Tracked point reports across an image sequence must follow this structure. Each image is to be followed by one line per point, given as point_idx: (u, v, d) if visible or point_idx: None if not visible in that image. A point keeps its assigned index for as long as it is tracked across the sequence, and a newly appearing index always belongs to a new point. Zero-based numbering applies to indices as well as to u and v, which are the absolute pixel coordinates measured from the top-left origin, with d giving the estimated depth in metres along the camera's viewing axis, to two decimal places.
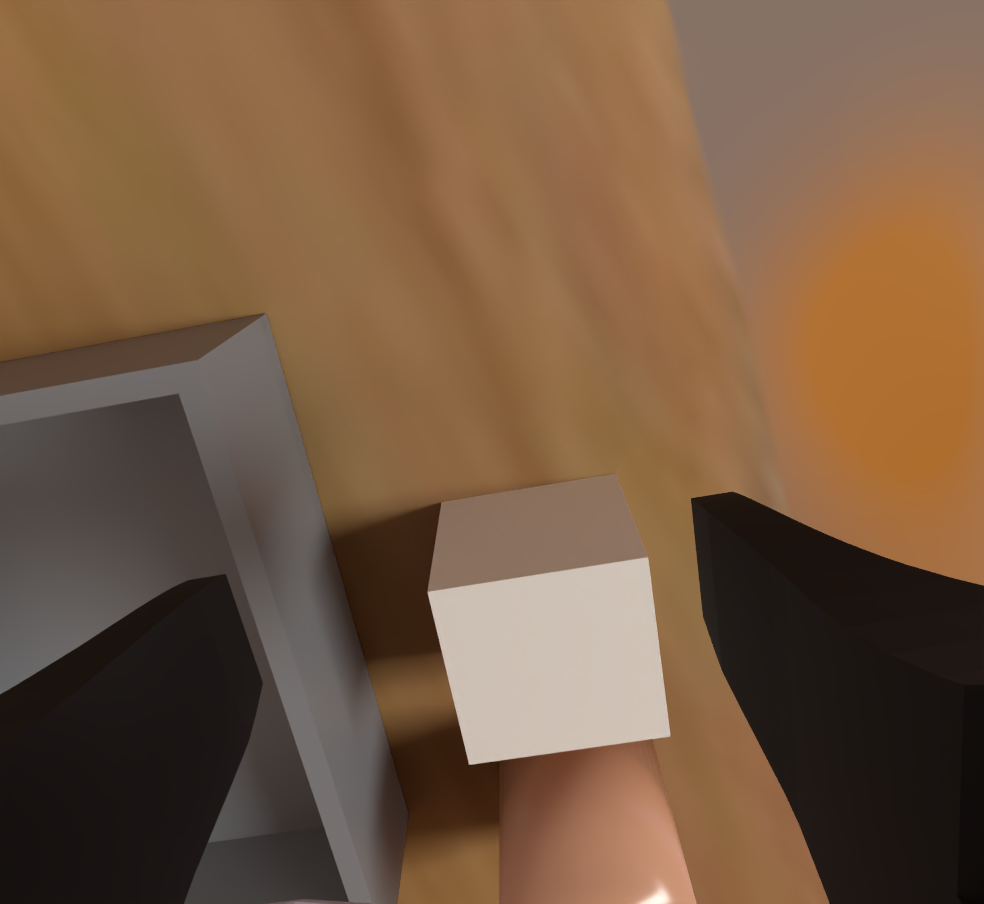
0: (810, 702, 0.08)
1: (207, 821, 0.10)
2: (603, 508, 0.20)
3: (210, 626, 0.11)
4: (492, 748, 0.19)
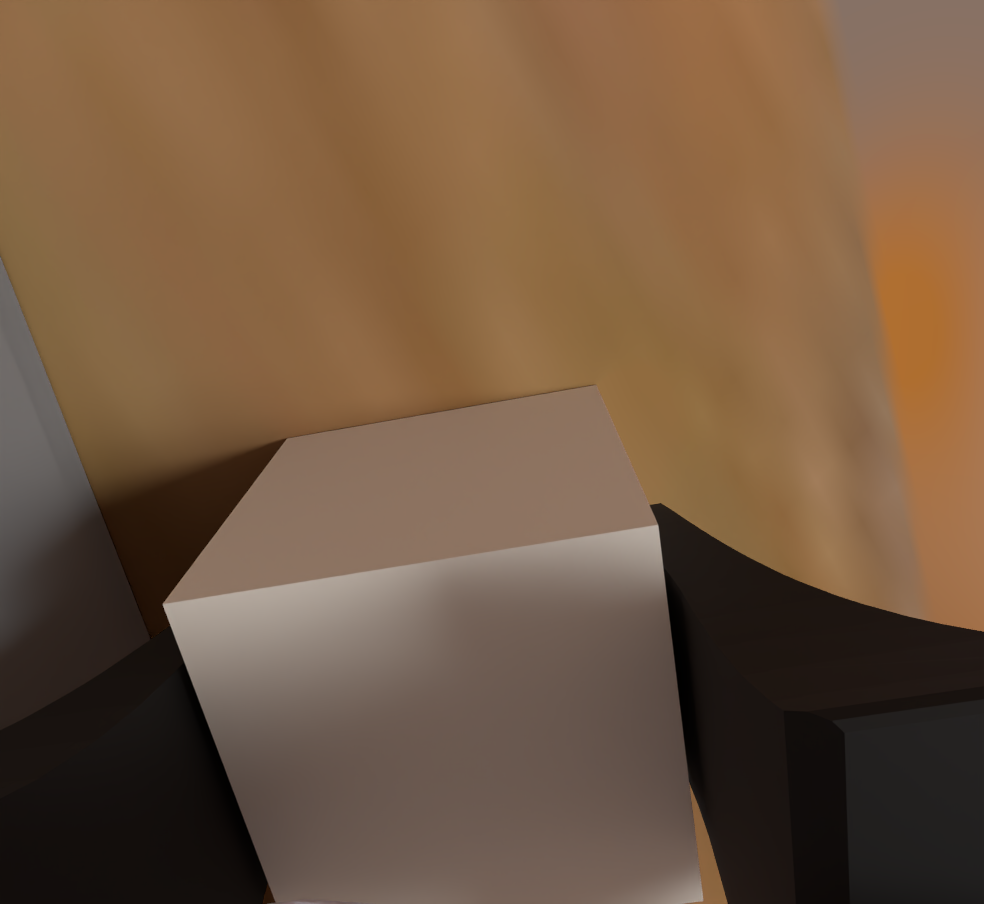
0: (705, 716, 0.08)
1: None
2: (569, 438, 0.10)
3: None
4: None
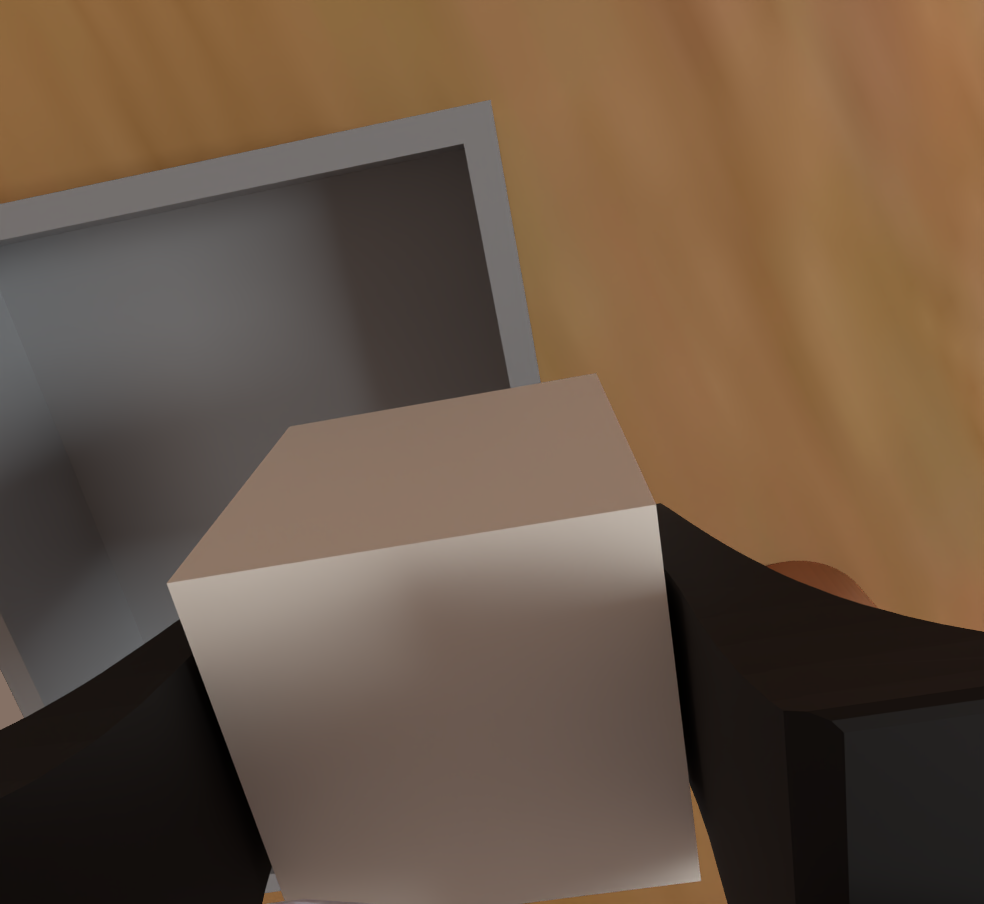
0: (705, 717, 0.08)
1: None
2: (568, 424, 0.10)
3: None
4: None
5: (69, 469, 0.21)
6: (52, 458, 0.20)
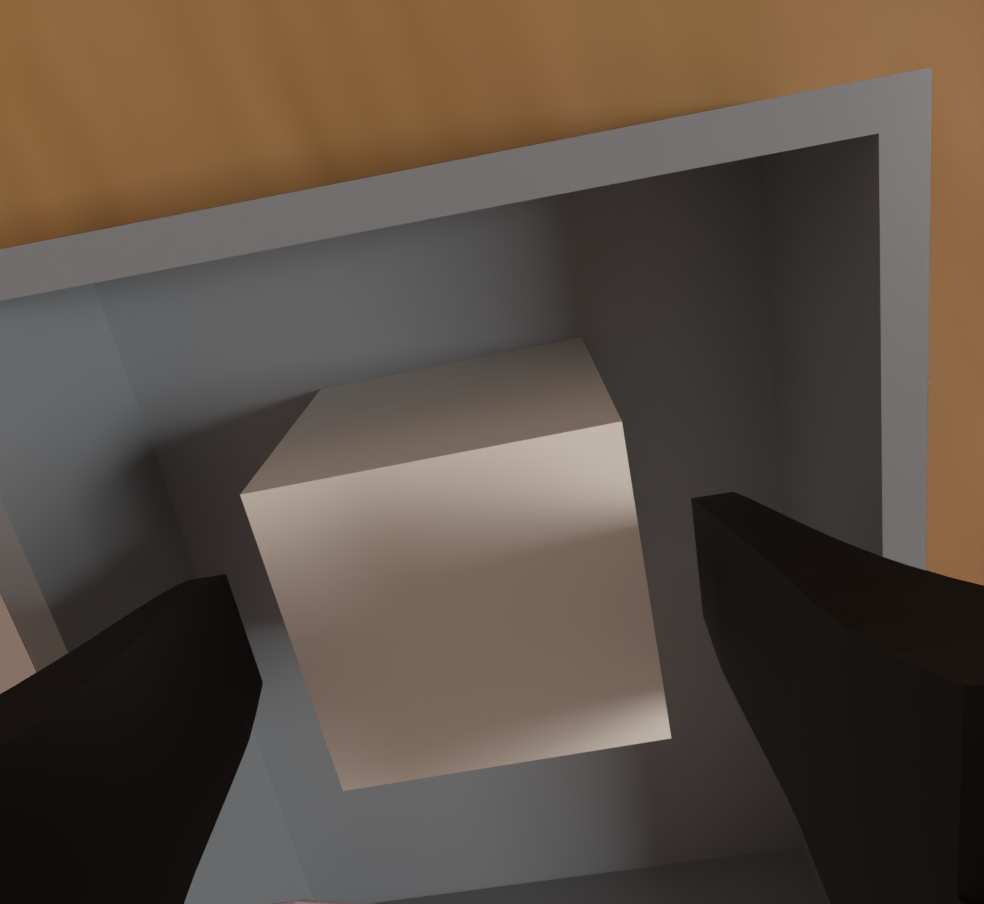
0: (810, 702, 0.08)
1: (207, 821, 0.10)
2: (556, 373, 0.12)
3: (210, 626, 0.11)
4: (378, 764, 0.12)
5: (186, 554, 0.16)
6: (169, 543, 0.15)
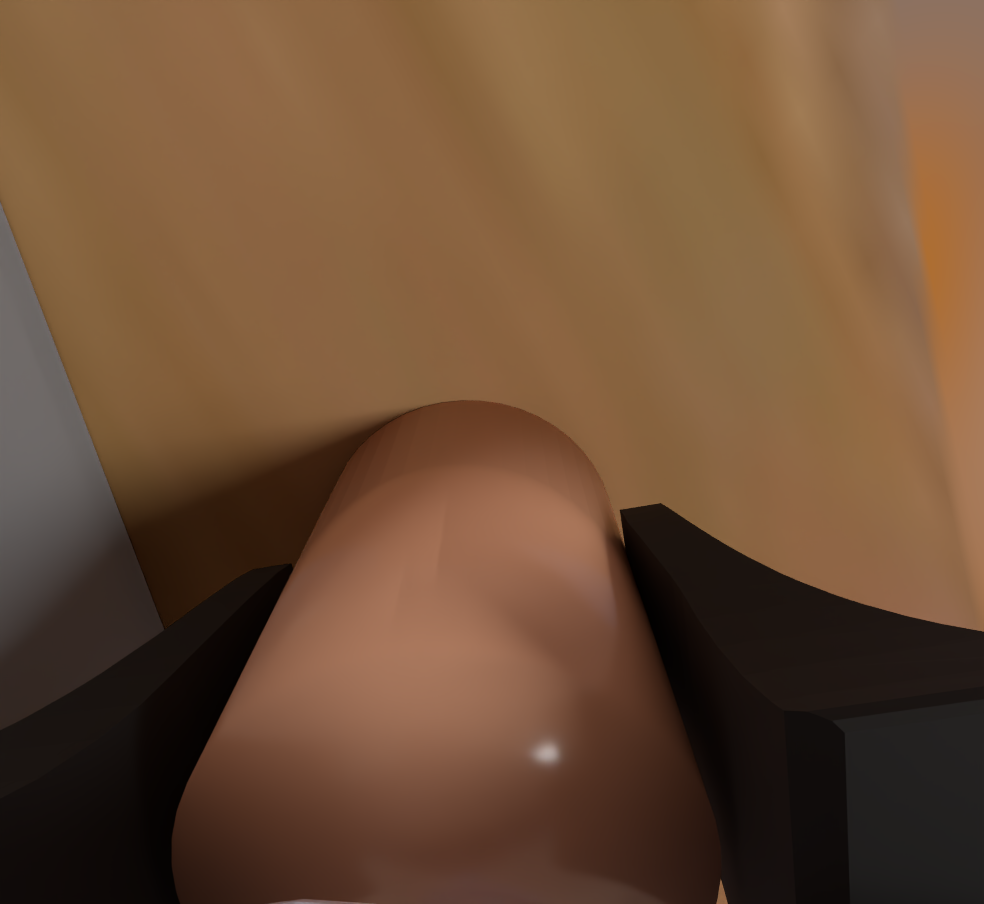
0: (705, 717, 0.08)
1: None
2: None
3: None
4: None
5: None
6: None
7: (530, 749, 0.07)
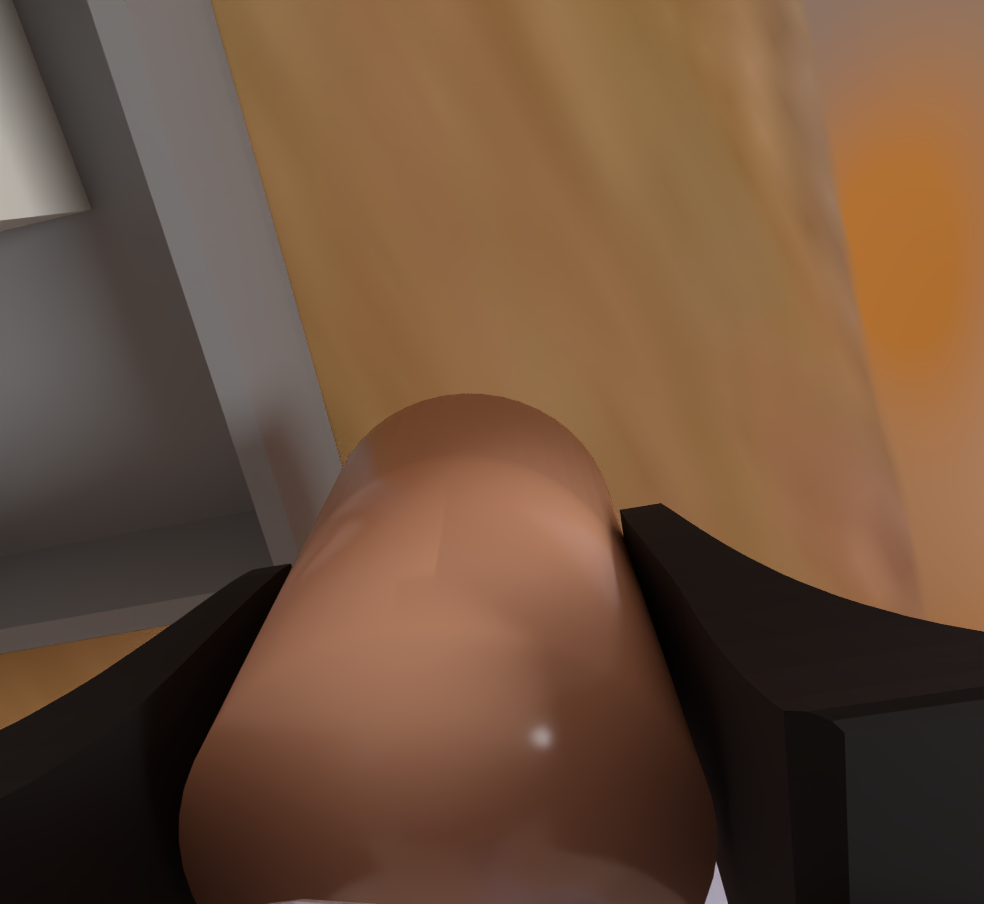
0: (705, 717, 0.08)
1: None
2: None
3: None
4: None
5: None
6: None
7: (530, 726, 0.07)
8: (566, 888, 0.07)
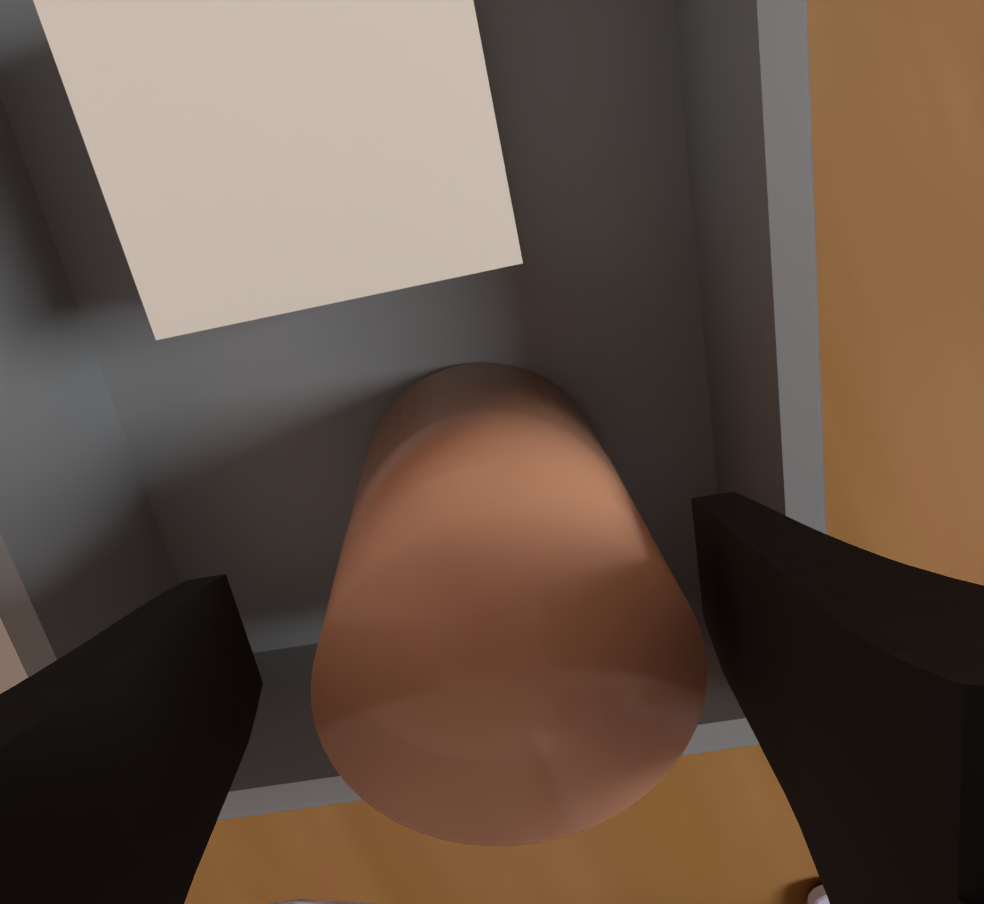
0: (810, 702, 0.08)
1: (207, 821, 0.10)
2: None
3: (210, 626, 0.11)
4: (192, 301, 0.10)
5: (36, 206, 0.14)
6: (10, 178, 0.14)
7: (562, 585, 0.09)
8: (601, 709, 0.10)
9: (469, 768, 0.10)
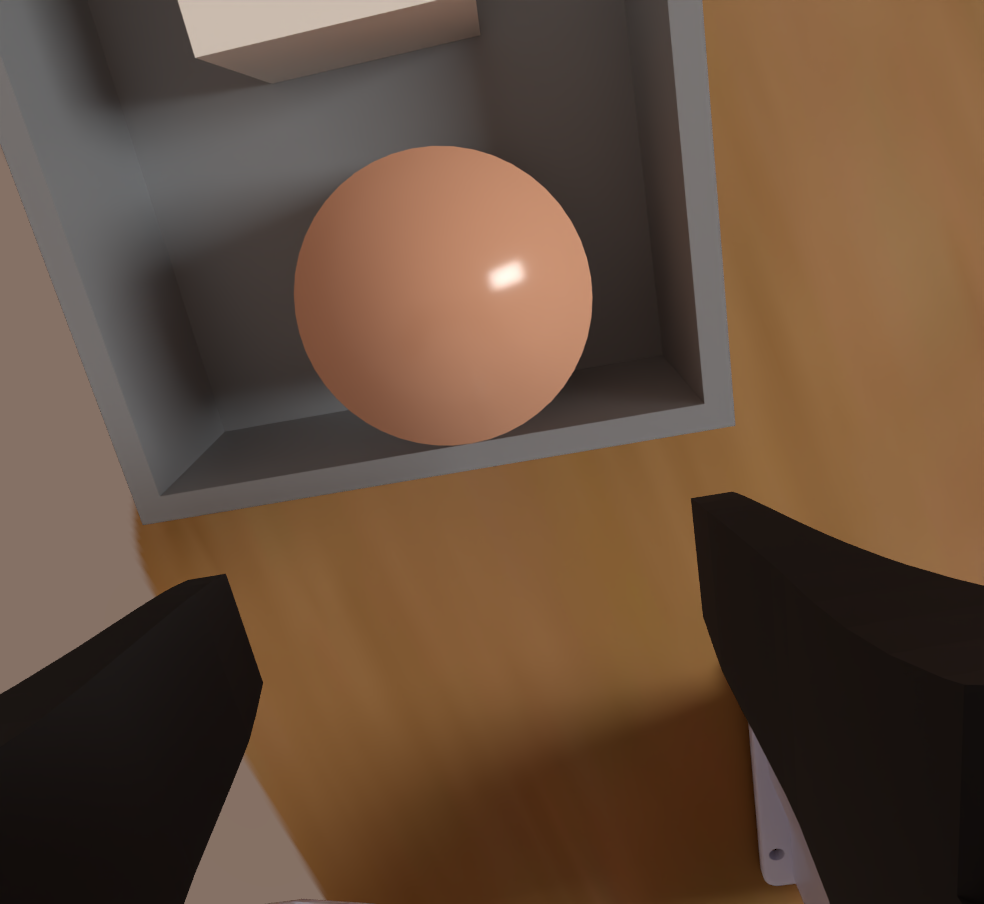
0: (810, 702, 0.08)
1: (207, 821, 0.10)
2: None
3: (210, 626, 0.11)
4: (223, 24, 0.13)
5: (88, 12, 0.18)
6: None
7: (474, 205, 0.13)
8: (512, 317, 0.13)
9: (415, 371, 0.14)
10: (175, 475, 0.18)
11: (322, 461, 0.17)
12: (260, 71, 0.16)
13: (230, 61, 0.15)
